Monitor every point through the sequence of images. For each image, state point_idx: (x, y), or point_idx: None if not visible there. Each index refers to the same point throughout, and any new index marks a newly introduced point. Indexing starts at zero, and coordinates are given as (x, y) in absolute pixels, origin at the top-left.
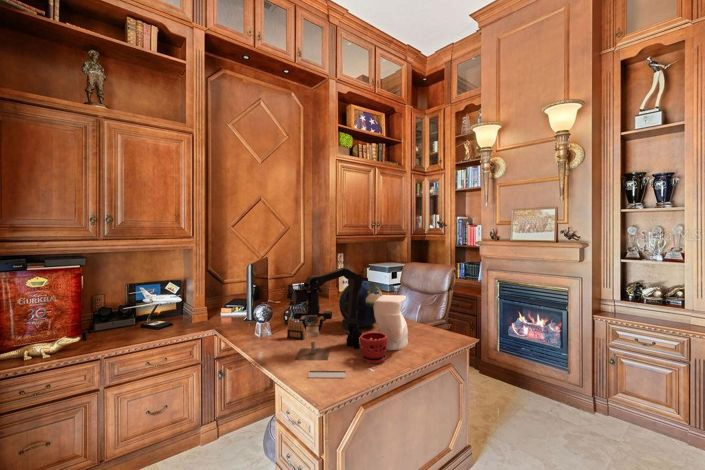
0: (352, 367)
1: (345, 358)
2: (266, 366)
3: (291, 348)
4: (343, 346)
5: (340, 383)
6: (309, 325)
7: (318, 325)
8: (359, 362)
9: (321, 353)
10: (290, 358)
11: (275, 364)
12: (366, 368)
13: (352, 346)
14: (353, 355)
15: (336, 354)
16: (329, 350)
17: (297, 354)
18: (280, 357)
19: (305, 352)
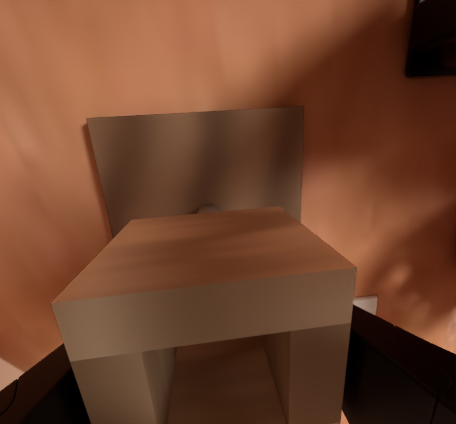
0: (396, 312)
1: (377, 226)
2: (15, 359)
3: (8, 85)
4: (383, 19)
5: (345, 419)
6: (146, 417)
7: (333, 384)
8: (433, 263)
9: (256, 203)
10: (89, 259)
11: (47, 334)
12: (446, 313)
13: (450, 66)
14: (421, 182)
15: (334, 176)
16: (299, 148)
17: (114, 233)
18: (21, 252)
19: (153, 196)
